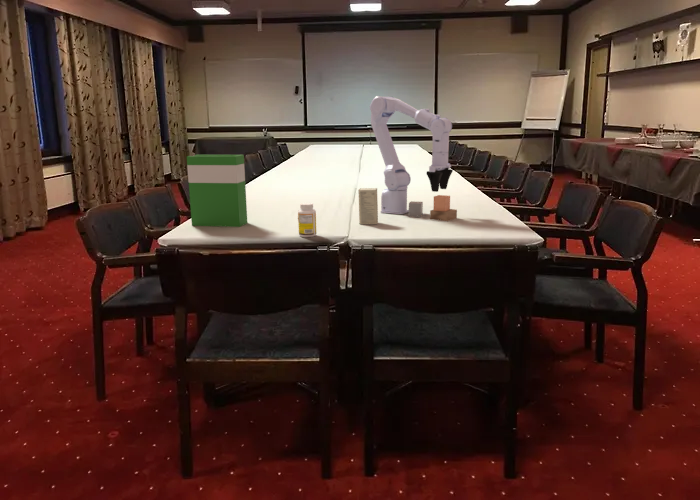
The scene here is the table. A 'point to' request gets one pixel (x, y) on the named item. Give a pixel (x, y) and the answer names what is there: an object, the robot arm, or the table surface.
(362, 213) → the skincare box
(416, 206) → the grey block
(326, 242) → the table surface
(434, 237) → the table surface
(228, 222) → the cereal box
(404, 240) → the table surface
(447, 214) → the walnut slab
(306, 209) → the supplement bottle
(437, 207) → the rust block
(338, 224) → the table surface
